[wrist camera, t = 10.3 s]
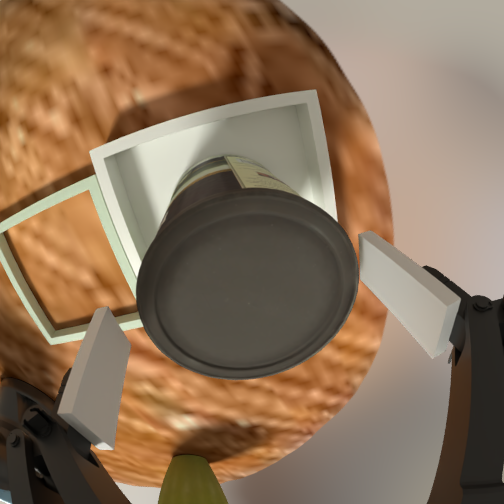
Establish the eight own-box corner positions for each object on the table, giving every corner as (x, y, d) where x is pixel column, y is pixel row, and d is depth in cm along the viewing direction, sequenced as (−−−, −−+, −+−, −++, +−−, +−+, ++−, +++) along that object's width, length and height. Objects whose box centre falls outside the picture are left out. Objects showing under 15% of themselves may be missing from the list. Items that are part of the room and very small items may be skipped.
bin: (167, 312, 29) (164, 333, 26) (103, 147, 21) (89, 151, 18) (329, 267, 30) (342, 284, 27) (301, 93, 22) (316, 89, 19)
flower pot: (237, 452, 46) (249, 519, 32) (209, 474, 51) (216, 529, 36) (166, 441, 41) (167, 516, 27) (148, 463, 46) (148, 523, 31)
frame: (54, 337, 28) (50, 345, 27) (-6, 226, 21) (-13, 231, 20) (159, 314, 29) (158, 323, 28) (100, 171, 22) (94, 174, 20)
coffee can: (175, 266, 26) (158, 386, 14) (166, 156, 22) (116, 197, 9) (281, 261, 28) (337, 368, 15) (287, 154, 23) (377, 193, 11)
